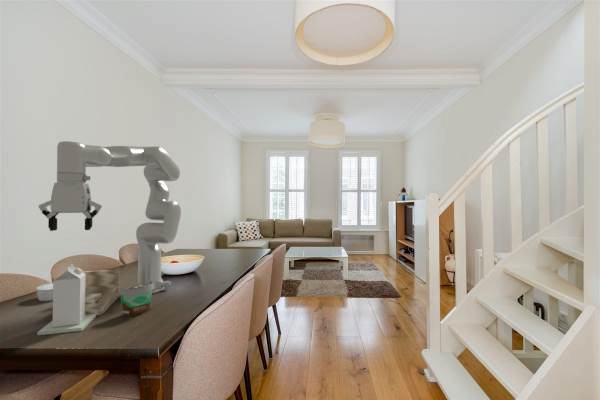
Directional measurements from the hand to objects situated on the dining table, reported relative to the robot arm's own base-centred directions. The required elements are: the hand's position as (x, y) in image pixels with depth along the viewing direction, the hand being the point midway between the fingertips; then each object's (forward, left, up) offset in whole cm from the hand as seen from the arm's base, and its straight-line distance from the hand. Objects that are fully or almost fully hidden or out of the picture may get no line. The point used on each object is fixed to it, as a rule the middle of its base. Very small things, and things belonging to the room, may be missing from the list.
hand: (70, 230), depth 95 cm
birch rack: (0, -17, -32) cm, 36 cm away
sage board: (0, 0, -32) cm, 32 cm away
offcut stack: (0, -12, -32) cm, 34 cm away
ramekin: (+19, -34, -32) cm, 50 cm away
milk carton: (0, 0, -31) cm, 31 cm away
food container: (-20, -6, -32) cm, 38 cm away
